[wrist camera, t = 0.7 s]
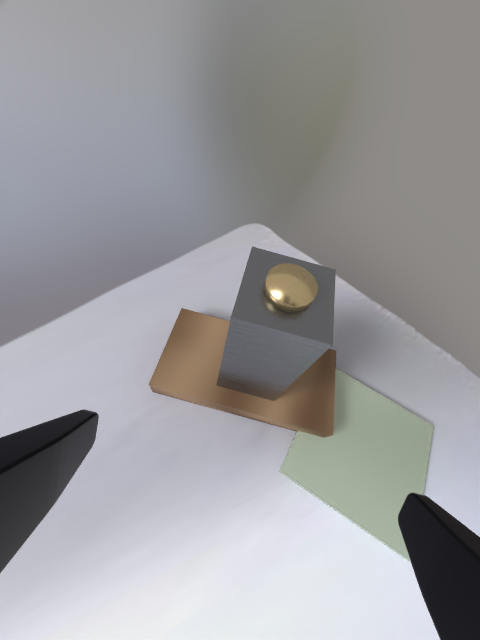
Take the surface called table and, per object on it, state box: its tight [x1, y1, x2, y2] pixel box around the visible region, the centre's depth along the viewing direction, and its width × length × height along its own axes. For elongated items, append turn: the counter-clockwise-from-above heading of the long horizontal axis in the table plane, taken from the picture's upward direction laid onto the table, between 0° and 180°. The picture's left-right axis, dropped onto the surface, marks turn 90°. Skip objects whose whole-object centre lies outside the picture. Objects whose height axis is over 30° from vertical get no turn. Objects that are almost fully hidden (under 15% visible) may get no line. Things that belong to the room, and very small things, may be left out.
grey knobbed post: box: [216, 247, 335, 401], centre depth 16 cm, size 4×4×11 cm
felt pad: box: [280, 368, 434, 561], centre depth 21 cm, size 10×10×1 cm
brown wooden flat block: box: [149, 308, 336, 438], centre depth 22 cm, size 14×7×2 cm, turn 77°
